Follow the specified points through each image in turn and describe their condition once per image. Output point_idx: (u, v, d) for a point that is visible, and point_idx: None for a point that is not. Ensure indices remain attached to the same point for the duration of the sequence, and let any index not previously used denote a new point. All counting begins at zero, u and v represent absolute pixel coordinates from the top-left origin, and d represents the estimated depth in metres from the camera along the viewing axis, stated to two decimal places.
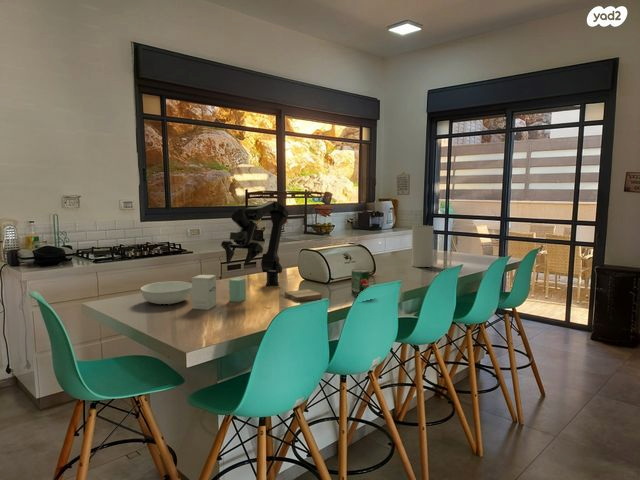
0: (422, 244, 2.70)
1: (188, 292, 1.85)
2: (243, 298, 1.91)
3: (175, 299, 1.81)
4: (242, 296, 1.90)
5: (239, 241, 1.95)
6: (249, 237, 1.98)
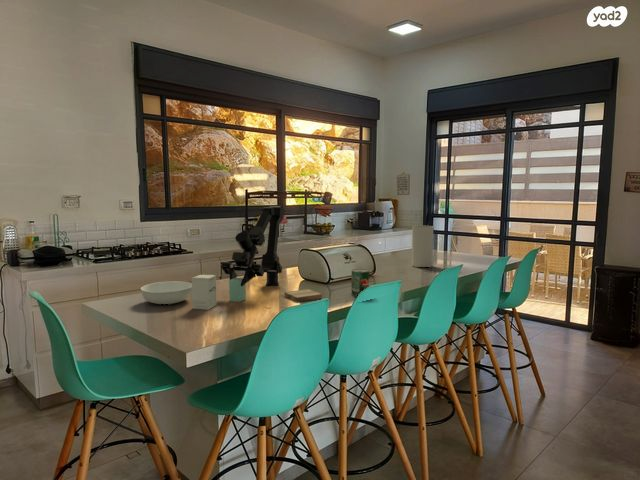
0: (422, 244, 2.70)
1: (188, 292, 1.85)
2: (243, 298, 1.91)
3: (175, 299, 1.81)
4: (242, 296, 1.90)
5: (240, 262, 1.93)
6: (251, 260, 1.96)
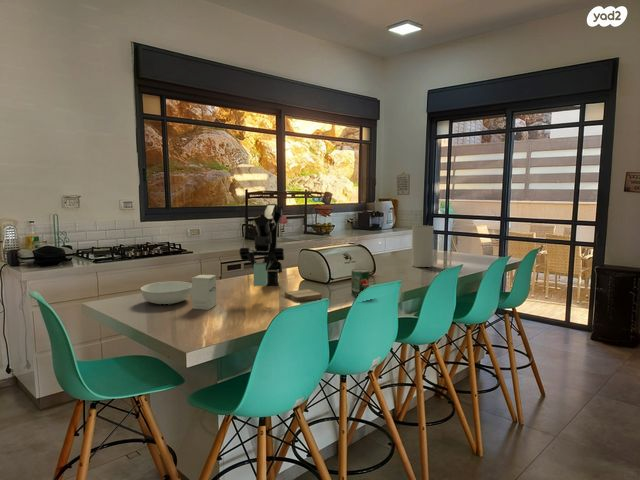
0: (422, 244, 2.70)
1: (188, 292, 1.85)
2: (266, 282, 1.90)
3: (175, 299, 1.81)
4: (266, 281, 1.89)
5: (261, 247, 1.91)
6: (269, 244, 1.95)
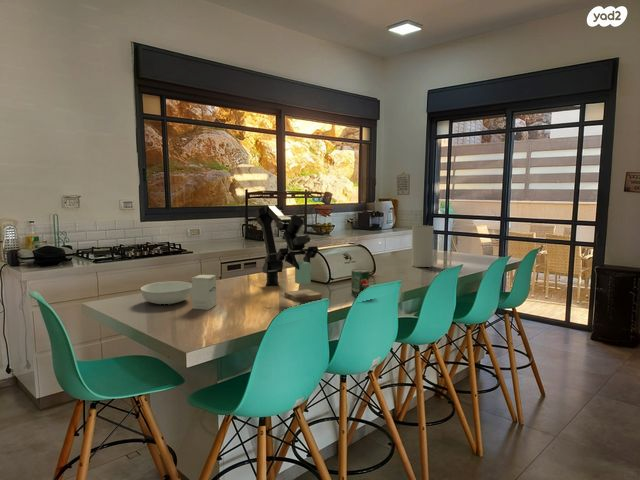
0: (422, 244, 2.70)
1: (188, 292, 1.85)
2: None
3: (175, 299, 1.81)
4: None
5: (298, 246, 1.96)
6: None
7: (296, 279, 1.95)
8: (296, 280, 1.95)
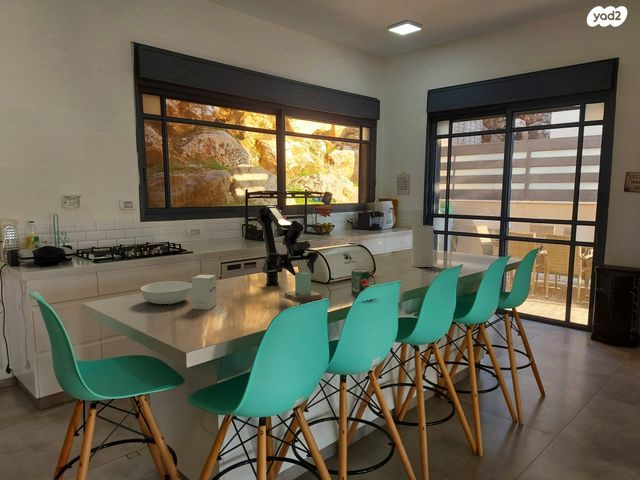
0: (422, 244, 2.70)
1: (188, 292, 1.85)
2: None
3: (175, 299, 1.81)
4: None
5: (298, 252, 1.97)
6: None
7: (296, 289, 1.95)
8: (296, 290, 1.95)
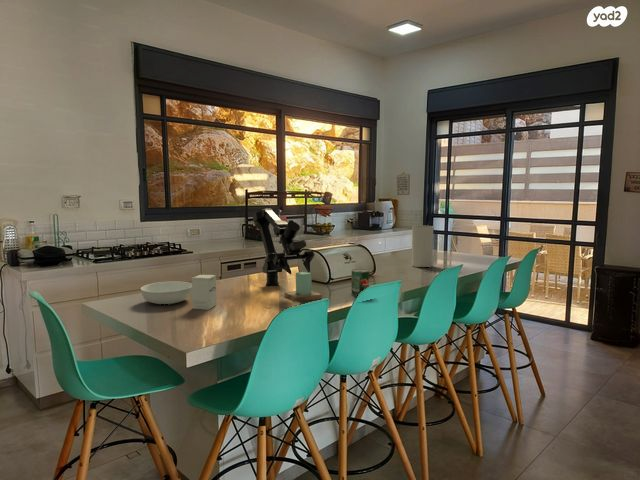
0: (422, 244, 2.70)
1: (188, 292, 1.85)
2: None
3: (175, 299, 1.81)
4: None
5: (294, 251, 2.00)
6: None
7: (297, 289, 1.95)
8: (297, 290, 1.95)
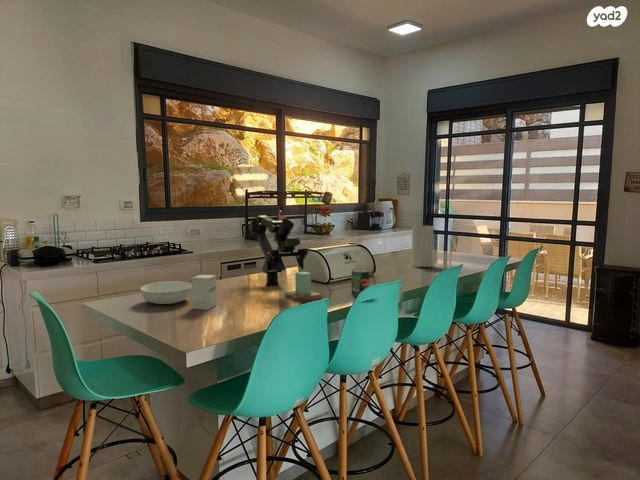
0: (422, 244, 2.70)
1: (188, 292, 1.85)
2: None
3: (175, 299, 1.81)
4: None
5: (289, 248, 2.05)
6: None
7: (296, 289, 1.95)
8: (296, 290, 1.95)
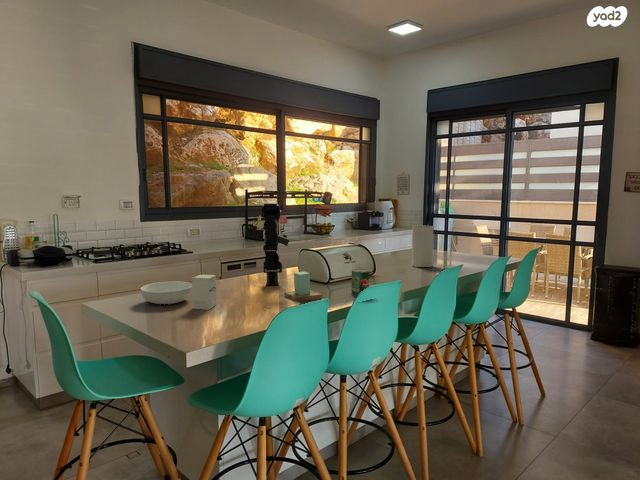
0: (422, 244, 2.70)
1: (188, 292, 1.85)
2: None
3: (175, 299, 1.81)
4: None
5: None
6: None
7: (296, 290, 1.95)
8: (296, 291, 1.95)
